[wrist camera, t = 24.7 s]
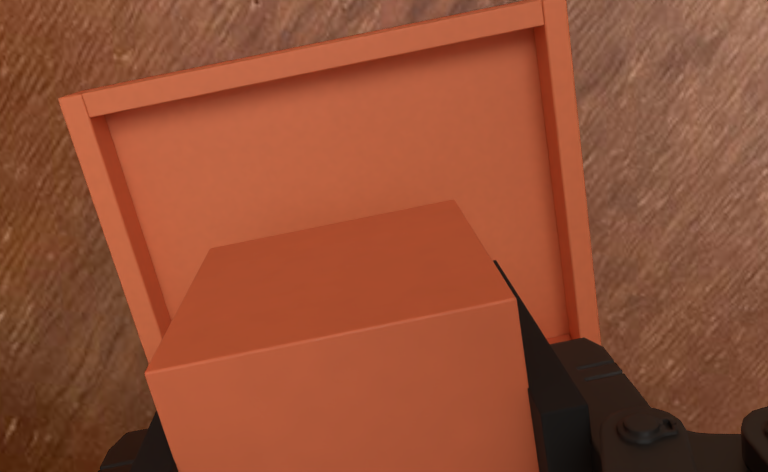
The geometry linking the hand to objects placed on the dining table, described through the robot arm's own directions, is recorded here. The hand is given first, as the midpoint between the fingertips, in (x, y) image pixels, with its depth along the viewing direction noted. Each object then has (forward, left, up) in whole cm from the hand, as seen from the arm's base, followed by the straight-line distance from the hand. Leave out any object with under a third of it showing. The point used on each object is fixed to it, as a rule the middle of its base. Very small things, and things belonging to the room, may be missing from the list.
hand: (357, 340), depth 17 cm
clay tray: (0, 0, -9) cm, 9 cm away
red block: (0, 0, 0) cm, 0 cm away
